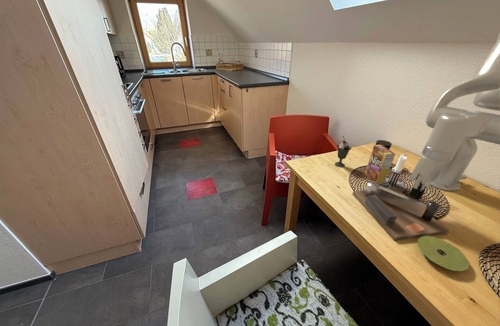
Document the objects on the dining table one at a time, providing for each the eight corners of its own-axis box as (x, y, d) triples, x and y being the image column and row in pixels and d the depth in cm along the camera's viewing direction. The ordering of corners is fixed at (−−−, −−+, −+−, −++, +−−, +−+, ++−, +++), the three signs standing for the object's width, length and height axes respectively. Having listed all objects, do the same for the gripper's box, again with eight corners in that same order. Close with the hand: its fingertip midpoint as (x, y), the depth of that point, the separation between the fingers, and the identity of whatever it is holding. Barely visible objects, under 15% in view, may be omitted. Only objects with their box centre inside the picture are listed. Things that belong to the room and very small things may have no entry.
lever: (362, 193, 80) (367, 180, 77) (366, 189, 82) (371, 176, 79) (429, 223, 66) (438, 209, 63) (432, 217, 68) (440, 203, 65)
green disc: (417, 233, 65) (419, 229, 64) (464, 254, 59) (468, 250, 58) (412, 257, 58) (415, 253, 57) (465, 284, 52) (470, 279, 51)
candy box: (363, 173, 96) (373, 144, 88) (372, 173, 96) (383, 144, 88) (374, 184, 88) (385, 153, 81) (384, 184, 88) (396, 153, 81)
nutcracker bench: (394, 190, 85) (398, 180, 82) (447, 233, 65) (455, 222, 63) (352, 194, 83) (355, 184, 80) (393, 240, 63) (399, 229, 61)
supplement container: (385, 159, 108) (391, 141, 102) (384, 165, 103) (391, 146, 97) (370, 156, 111) (376, 139, 105) (369, 161, 106) (376, 143, 100)
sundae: (334, 160, 107) (340, 134, 100) (348, 163, 104) (355, 137, 96) (330, 165, 103) (337, 138, 95) (344, 169, 99) (352, 141, 92)
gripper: (435, 143, 71) (413, 185, 80) (412, 153, 64) (392, 198, 74) (462, 152, 65) (436, 196, 74) (441, 163, 59) (415, 210, 68)
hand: (414, 197), depth 74 cm, fingers closed
